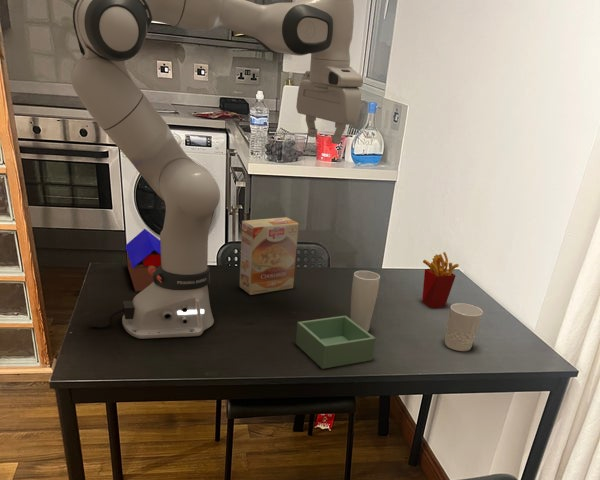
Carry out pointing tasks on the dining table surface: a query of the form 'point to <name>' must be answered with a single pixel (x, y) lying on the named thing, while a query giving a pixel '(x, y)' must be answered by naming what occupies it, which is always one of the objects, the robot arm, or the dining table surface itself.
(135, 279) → the house
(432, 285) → the french fries
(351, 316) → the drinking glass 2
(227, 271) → the dining table surface
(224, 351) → the dining table surface
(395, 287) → the dining table surface
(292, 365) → the dining table surface
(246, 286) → the coffeecake box
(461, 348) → the white cup
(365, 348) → the tote
